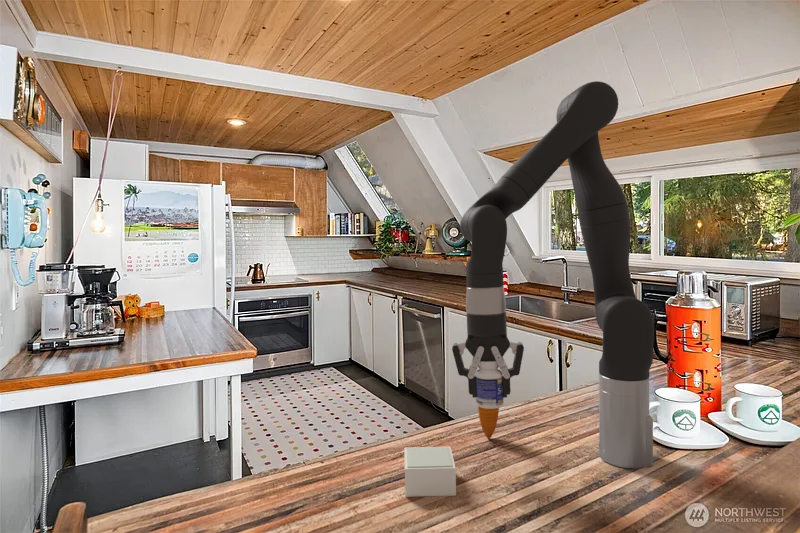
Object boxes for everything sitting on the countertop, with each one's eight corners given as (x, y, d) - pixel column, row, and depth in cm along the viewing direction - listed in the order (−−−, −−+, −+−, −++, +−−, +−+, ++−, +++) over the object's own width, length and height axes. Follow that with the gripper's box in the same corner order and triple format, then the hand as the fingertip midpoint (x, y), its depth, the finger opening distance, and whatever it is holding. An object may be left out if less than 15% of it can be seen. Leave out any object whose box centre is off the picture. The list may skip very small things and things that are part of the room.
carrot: (475, 441, 109) (474, 375, 108) (480, 433, 114) (479, 369, 113) (497, 444, 107) (496, 377, 106) (501, 435, 112) (500, 371, 111)
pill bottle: (504, 409, 91) (502, 363, 91) (475, 409, 92) (473, 363, 92) (503, 400, 97) (501, 356, 96) (476, 400, 98) (474, 356, 97)
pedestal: (450, 471, 95) (450, 445, 95) (456, 495, 86) (455, 466, 86) (404, 472, 95) (404, 446, 95) (405, 496, 86) (404, 468, 86)
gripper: (522, 306, 96) (525, 390, 97) (449, 308, 99) (453, 390, 99) (526, 311, 89) (529, 403, 90) (447, 313, 91) (451, 402, 92)
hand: (489, 396), depth 95 cm, fingers closed on pill bottle, 5 cm apart
